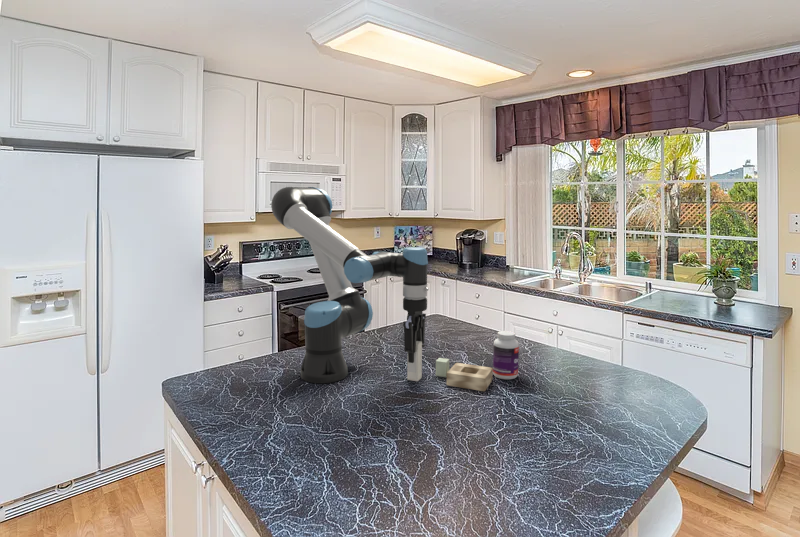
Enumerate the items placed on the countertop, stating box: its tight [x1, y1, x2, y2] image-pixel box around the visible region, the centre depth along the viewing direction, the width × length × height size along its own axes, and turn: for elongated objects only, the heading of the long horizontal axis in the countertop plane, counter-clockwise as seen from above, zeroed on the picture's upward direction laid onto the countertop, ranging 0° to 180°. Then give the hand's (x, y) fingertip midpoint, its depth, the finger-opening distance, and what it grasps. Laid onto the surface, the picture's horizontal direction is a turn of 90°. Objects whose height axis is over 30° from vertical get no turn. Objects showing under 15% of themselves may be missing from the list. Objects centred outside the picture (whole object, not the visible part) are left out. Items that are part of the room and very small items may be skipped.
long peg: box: [406, 341, 423, 382], centre depth 153 cm, size 4×4×12 cm
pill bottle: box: [492, 330, 520, 380], centre depth 155 cm, size 8×8×14 cm
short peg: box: [435, 357, 450, 378], centre depth 157 cm, size 4×4×5 cm
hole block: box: [446, 362, 494, 392], centre depth 150 cm, size 12×10×4 cm
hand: (414, 369), depth 153 cm, fingers closed on long peg, 3 cm apart
